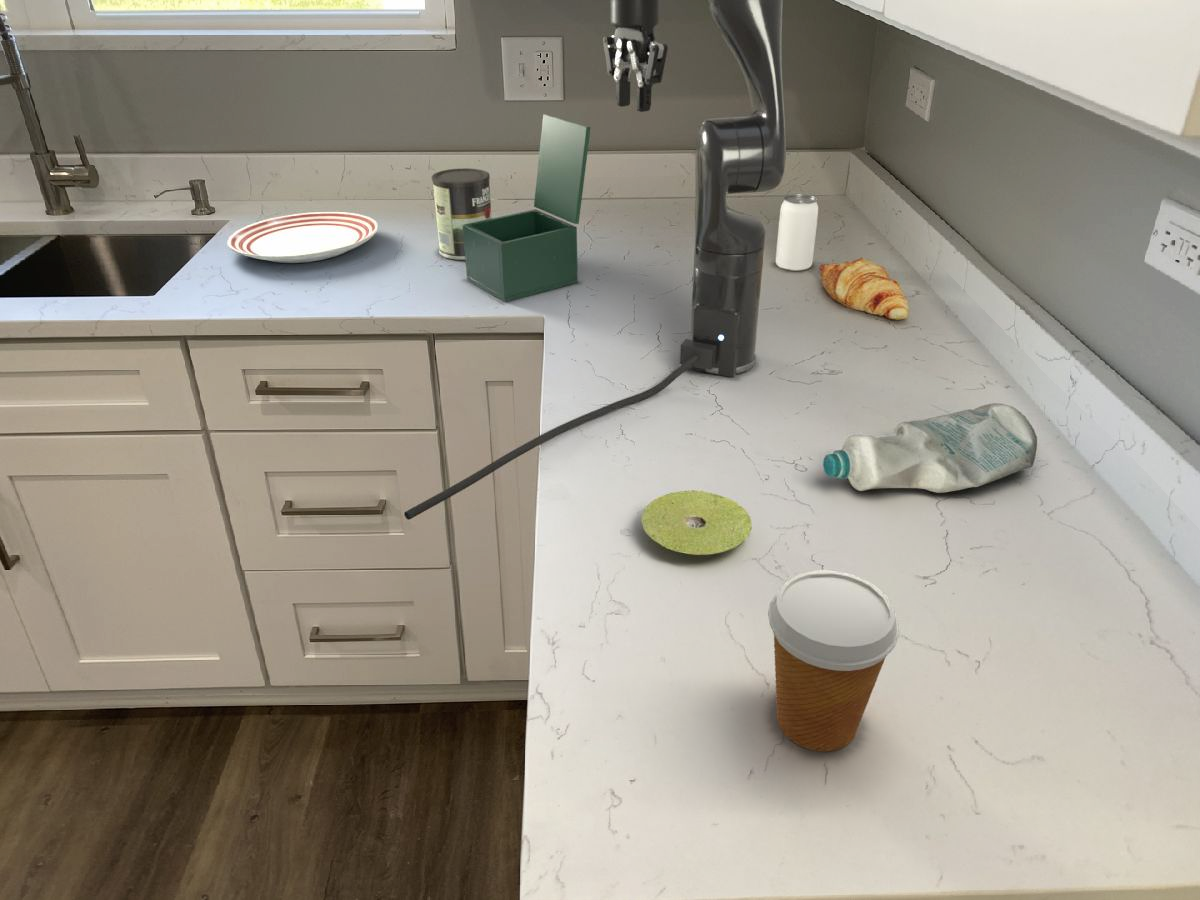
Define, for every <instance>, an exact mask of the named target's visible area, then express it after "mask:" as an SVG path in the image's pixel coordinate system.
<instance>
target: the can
mask: <svg viewBox="0 0 1200 900" xmlns="http://www.w3.org/2000/svg"><path fill="white" fill-rule="evenodd" d="M817 201H818V198H817V197H816V196H814V195H811V194H810V195H809V194H805V193H793V194H788V195H787V194H786V195H785V196H784V197H783V202H782V204H781V206H780V210H779V218H778V219H779V220H778V229H777V241H776V250H775V251H776V253H775V265H776V266H777V268H779V269H781V270H784V271H789V272H802V271H806V270H807V271H808V270H809V269H810V268H811V267H812V265H813V262H814V261H813V260H814V253H815V245H816V244H815V243H816V236H817V228H818V216H819V205H818V203H817Z"/></svg>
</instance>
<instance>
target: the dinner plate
mask: <svg viewBox="0 0 1200 900" xmlns="http://www.w3.org/2000/svg"><path fill="white" fill-rule="evenodd" d="M378 231H379V224H378V222H377V221H376V220H375V219H374V218H372V217H370V216H367V215H364V214H359V213H353V212H343V211H316V212H315V211H313V212H304V213H295V214H287V215H280V216H277V217H272V218H267V219H264V220H261V221H258V222H254V223H252V224H248V225H247V226H244V227H242V228H240V229H238V230H237V231H235V232H233V233H232V234H231V235H230V236H229V238H228V239H227V241H226V242H227V243H226V244H227V247H229V249H230V250H231V251H233V252H235V253H238V254H240V255H242V256H245V257H249V258H252V259H256V260H263V261H269V262H273V263H279V264H280V263H282V264H299V263H300V264H301V263H311V262H317V261H322V260H327V259H331V258H334V257H338V256H340V255H343V254H345V253H347V252H349V251H351V250H353V249H355V248H357V247H360V246H361V245H363V244H364V243H366V242H368V241H369V240H370V239H372V238H373V237H374V236H375V235H376V234H377V232H378Z"/></svg>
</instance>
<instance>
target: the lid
mask: <svg viewBox="0 0 1200 900" xmlns="http://www.w3.org/2000/svg"><path fill="white" fill-rule="evenodd" d="M542 115H543V116H542V123H541V133H540V134H541V135H540V143H539V152H538V153H539V154H538V164H537V173H536V182H535V192H534V202H533V207H534V208H537V210H540V211H542V212H544V213H547V214H549V215H553V216H554V217H556V218H559V219H561V220H563V221H564V220H565V221H566V222H568V223H570V224H574V225H579V224H580V216H581V209H582V199H583V192H584V185H585V184H584V183H585V177H586V168H587V161H588V160H587V159H588V153H589V144H590V136H591V129H592V128H591V126H589V125H588V126H587V125H584V124H581V123H578V122H575V121H570V120H567V119H563V118H560V117H557V116H554V115H551V114H545V113H544V114H542Z"/></svg>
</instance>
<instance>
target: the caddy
mask: <svg viewBox="0 0 1200 900" xmlns="http://www.w3.org/2000/svg"><path fill="white" fill-rule="evenodd" d="M463 237H464V249H465V260H464V261H465V270H466V271H465V272H466V281H468V282H469V283H471V284H473V285H474V286H476V287H478V288H480V289H481V290H483V291H485V292H486V293H488V294H490V295H491V296H493V297H495V298H497V299H499V300H501V301H502V302H504V303H507V302H510V301H514V300H518V299H522V298H525V297H529V296H533V295H538V294H540V293H541V294H542V293H545V292H548V291H552V290H555V289H559V288H563V287H567V286H570V285H575V284H578V282H579V280H578V275H579V274H578V273H579V272H578V228H577V226H576V225H573V224H572V223H570V222H567V221H564V220H563V219H560V218H558V217H556V216H552V215H551V214H549V213H546V212H544V211H542V210H539V209H531V210H526V211H520V212H517V213H511V214H506V215H502V216H497V217H492V219H487V220H483V221H478V222H473V223H468V224H464V225H463Z"/></svg>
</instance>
